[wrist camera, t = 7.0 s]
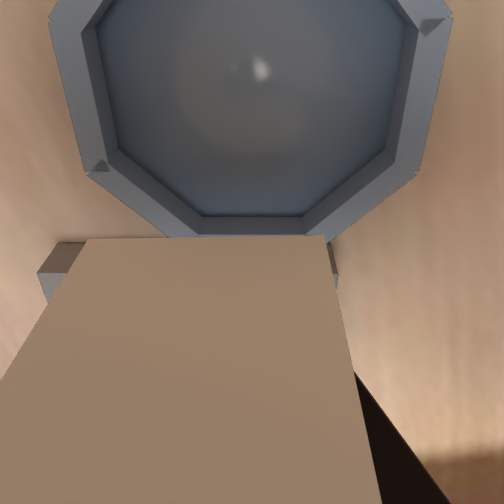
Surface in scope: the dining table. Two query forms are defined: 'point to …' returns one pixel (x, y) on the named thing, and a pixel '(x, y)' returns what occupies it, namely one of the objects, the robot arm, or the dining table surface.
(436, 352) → the dining table surface
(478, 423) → the dining table surface
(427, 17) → the ceramic bowl
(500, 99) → the dining table surface
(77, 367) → the stone block
